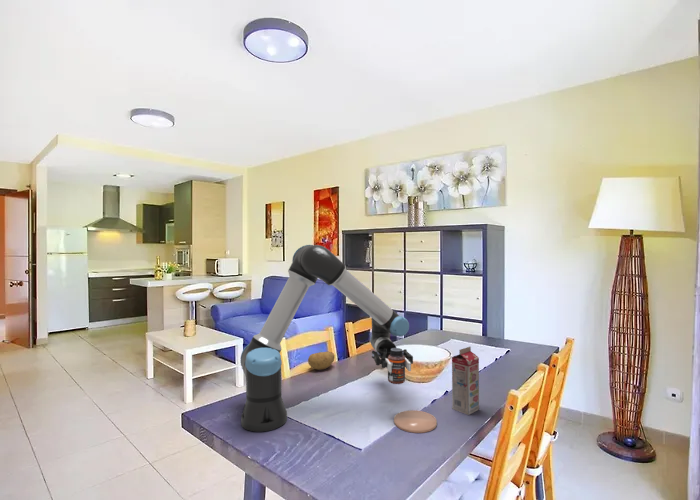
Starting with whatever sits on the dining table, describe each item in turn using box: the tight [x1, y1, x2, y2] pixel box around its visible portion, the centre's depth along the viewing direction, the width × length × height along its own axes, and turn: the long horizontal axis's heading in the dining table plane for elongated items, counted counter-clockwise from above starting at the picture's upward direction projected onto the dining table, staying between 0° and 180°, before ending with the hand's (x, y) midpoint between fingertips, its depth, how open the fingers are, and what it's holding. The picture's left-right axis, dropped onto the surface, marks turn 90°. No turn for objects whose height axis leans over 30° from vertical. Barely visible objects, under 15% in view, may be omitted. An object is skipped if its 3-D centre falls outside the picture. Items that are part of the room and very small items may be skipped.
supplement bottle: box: [387, 347, 406, 385], centre depth 131 cm, size 6×6×11 cm
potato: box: [307, 351, 336, 371], centre depth 181 cm, size 10×14×8 cm
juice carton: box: [451, 346, 480, 416], centre depth 135 cm, size 7×7×22 cm
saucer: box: [393, 409, 438, 434], centre depth 126 cm, size 14×14×1 cm
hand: (400, 367), depth 126 cm, fingers closed on supplement bottle, 6 cm apart
